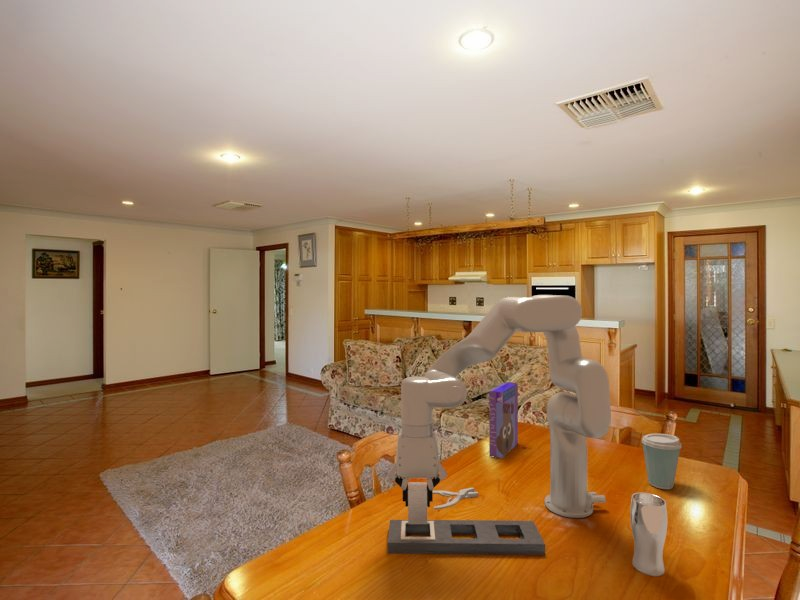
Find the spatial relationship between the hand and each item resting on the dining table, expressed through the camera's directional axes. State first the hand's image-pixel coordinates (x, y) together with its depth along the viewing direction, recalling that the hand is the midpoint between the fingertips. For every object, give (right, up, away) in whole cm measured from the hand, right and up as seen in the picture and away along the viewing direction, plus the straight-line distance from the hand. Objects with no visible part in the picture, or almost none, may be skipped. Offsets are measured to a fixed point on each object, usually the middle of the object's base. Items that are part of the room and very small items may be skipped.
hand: (417, 503), depth 105 cm
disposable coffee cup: (+76, -8, +29) cm, 82 cm away
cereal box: (+35, -8, +59) cm, 69 cm away
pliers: (+11, -9, +22) cm, 26 cm away
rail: (+11, -9, 0) cm, 14 cm away
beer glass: (+50, -9, -10) cm, 52 cm away
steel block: (0, -4, 0) cm, 4 cm away
